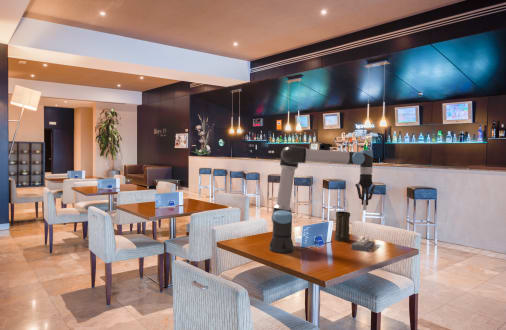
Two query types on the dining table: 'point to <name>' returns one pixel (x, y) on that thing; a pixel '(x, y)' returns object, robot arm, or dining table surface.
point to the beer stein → (342, 226)
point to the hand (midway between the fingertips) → (364, 210)
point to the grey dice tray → (363, 248)
